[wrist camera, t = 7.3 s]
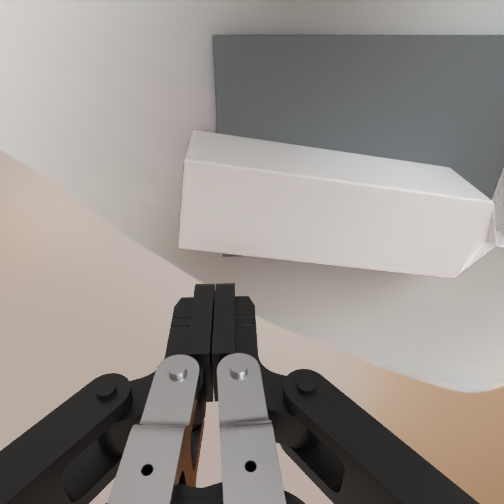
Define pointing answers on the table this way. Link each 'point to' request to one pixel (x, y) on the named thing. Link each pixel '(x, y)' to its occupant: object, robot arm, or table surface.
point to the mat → (370, 96)
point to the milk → (331, 208)
